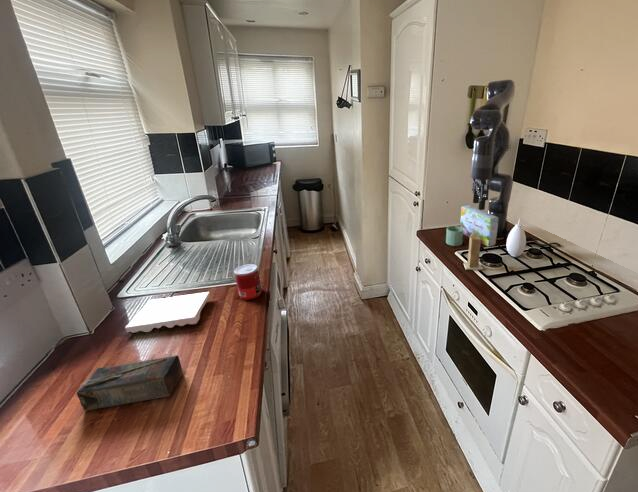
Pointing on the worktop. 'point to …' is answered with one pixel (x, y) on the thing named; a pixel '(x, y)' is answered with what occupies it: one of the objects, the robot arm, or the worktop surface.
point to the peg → (474, 251)
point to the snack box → (479, 224)
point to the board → (472, 268)
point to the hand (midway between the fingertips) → (478, 206)
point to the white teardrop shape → (516, 240)
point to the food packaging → (169, 312)
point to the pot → (454, 235)
